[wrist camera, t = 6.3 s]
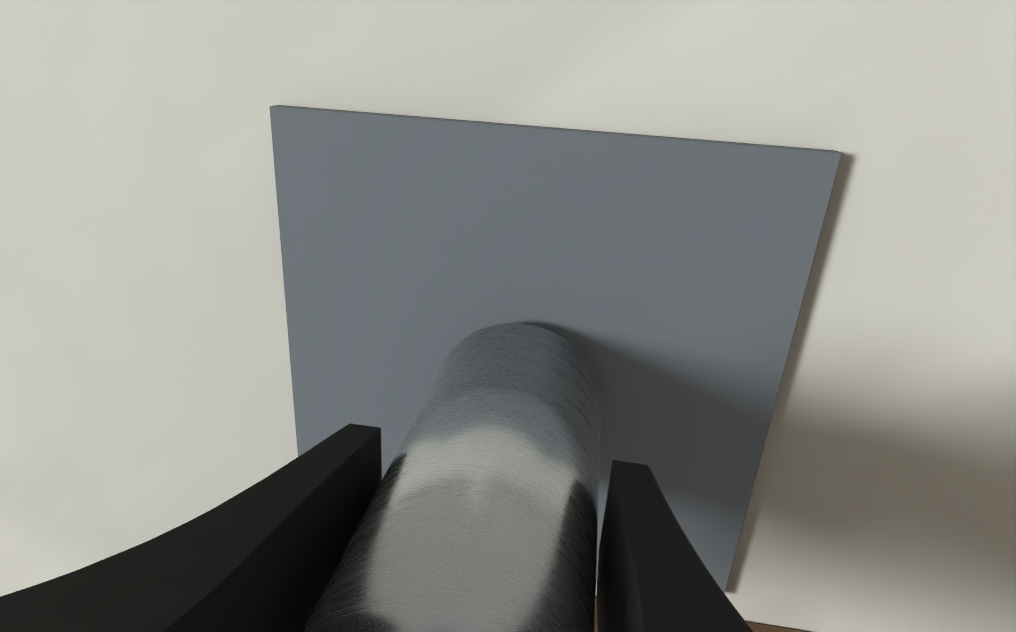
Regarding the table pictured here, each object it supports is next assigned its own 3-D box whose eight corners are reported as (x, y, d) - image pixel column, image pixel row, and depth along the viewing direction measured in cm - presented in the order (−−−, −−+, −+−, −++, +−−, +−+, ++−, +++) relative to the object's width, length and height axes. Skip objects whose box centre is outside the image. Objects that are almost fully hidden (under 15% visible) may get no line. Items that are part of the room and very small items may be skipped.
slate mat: (310, 524, 19) (304, 534, 18) (278, 105, 14) (269, 105, 14) (719, 589, 17) (722, 601, 17) (834, 151, 13) (841, 153, 12)
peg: (442, 458, 16) (303, 795, 9) (434, 318, 15) (257, 589, 7) (596, 472, 16) (582, 844, 8) (606, 328, 14) (599, 634, 7)
